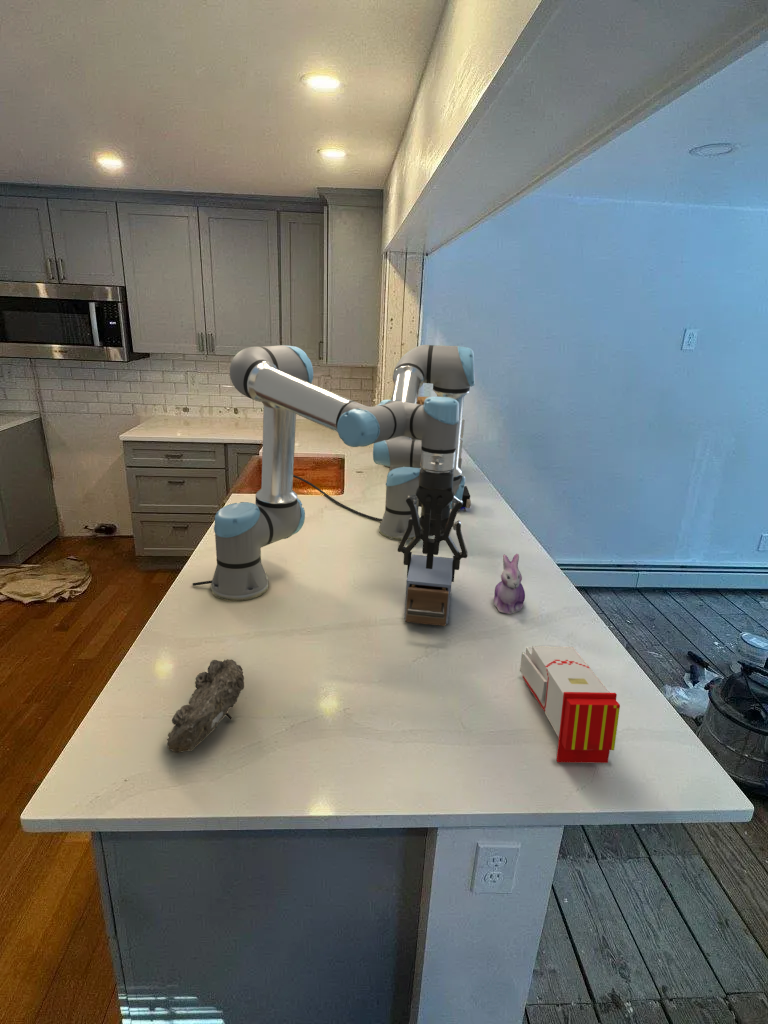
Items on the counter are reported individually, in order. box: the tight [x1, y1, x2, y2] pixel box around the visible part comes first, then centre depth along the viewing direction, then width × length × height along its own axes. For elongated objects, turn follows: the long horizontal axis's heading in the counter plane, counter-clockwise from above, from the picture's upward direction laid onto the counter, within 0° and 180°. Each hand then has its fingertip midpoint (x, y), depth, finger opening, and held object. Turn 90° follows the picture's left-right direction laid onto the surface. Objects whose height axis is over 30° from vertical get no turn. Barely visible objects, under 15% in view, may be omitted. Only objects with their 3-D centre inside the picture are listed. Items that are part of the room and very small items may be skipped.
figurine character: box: [460, 485, 472, 513], centre depth 228 cm, size 7×8×15 cm
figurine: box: [493, 553, 526, 615], centre depth 151 cm, size 9×10×15 cm
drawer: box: [405, 584, 449, 627], centre depth 144 cm, size 21×10×9 cm, turn 172°
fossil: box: [166, 658, 245, 754], centre depth 106 cm, size 22×10×15 cm
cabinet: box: [403, 553, 453, 625], centre depth 150 cm, size 16×11×11 cm
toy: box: [519, 645, 621, 764], centre depth 112 cm, size 12×13×30 cm
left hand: (429, 566), depth 133 cm, fingers closed
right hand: (430, 577), depth 154 cm, fingers closed on cabinet, 11 cm apart
